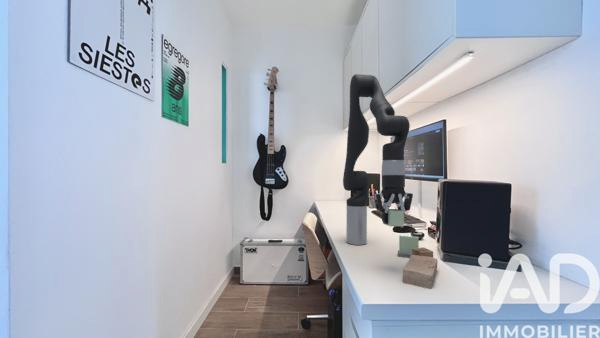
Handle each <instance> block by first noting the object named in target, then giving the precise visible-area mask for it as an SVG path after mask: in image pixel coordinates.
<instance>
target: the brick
mask: <svg viewBox="0 0 600 338" xmlns="http://www.w3.org/2000/svg"><path fill="white" fill-rule="evenodd" d="M437 269H438V258H436V257H434V256H433V257H427V256H419V255H411V256H410V258H408V261H407V262H406V263H405V264H404V266H403V268H402V282H403V283H404V284H407V285H412V286H417V287H421V288H424V289H429V290H430V289H432V288H433V283H434V281H435V277H436V273H437Z"/></svg>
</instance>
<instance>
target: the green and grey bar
mask: <svg viewBox="0 0 600 338" xmlns="http://www.w3.org/2000/svg"><path fill="white" fill-rule="evenodd" d="M419 239H420V237H419V236H409V235H400V234H399V236H398V241H399V242H398V245H399V249H398V251H397V257H399V258H408V259H410V256H411V255H412V248H420V247H419V245H420V244H419Z"/></svg>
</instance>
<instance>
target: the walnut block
mask: <svg viewBox="0 0 600 338" xmlns="http://www.w3.org/2000/svg"><path fill="white" fill-rule="evenodd" d="M412 255H419V256H427V257H433V258H434V251H433V250H431V249H429V248H426V247H419V248H412Z"/></svg>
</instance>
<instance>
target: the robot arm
mask: <svg viewBox="0 0 600 338" xmlns="http://www.w3.org/2000/svg"><path fill="white" fill-rule="evenodd" d="M360 98H371V100H370V102H369V109H370V112H371V115H372V116H373V117H374V119H375V121H376V122H375V123H376V130H377V132H378V134H380V135H381V136H384V137H394V140H393V141H392V142H387V143H384V144H383V145H382V149H381V151H382V163H381V191H380V192H378V193H373V195H372V196H373V199H374V203H375V204H374V205H375V208H376V211H378V212H381V221H382V224H383V223H384V224H383V225H385V224H388V210H389V209H390V207H392V205H394V204H395V206H396V209H398V210H402V211H404V221H405V213H406V212H407V211H410V210H411V207H412V206H411V205H412V202H413V197H414V195H413V193H410V192H406V191H405V187H406V165H405V146H406V143H407V139H408V134H409V132H410V129H411V128H410V127H411V125H410V124H411V123H410V120H409V119H408V117H406V115H405V116H404V115H395V114H396V112H395V109H394V107H393V105H391V103H390V102H389V101H388V99H387V98H386V96H385V95H384V91H383V89H382V87H381V84H380V82H379V80H378V78H377V77H376V76H375V75H373V74H372V75H371V74H360V73H359V74H358V73H356V74H354V75H352V76H351V80H350V84H349V117H348V128H347V139H346V142H347V143H346V156H345V164H344V170H343V177H342V186H343V189H344V190H345V191H346V192H347V191H349V192H350V191H351V192H357V193H356V194H355V195H353V196H351V197H349V198H346V233H345V234H346V235H345V236H346V243H347V244H349V245H354V246H355V245H356V246H362V245H366V244H368V241H367V237H368V236H367V234H368V226H367V225H368V210H367V208H368V198H369V175H368V173H367V171H365V170H354V169H355V166H356V163H357V161H358V159H359V158H360V156H361V155H362V153H363V152H364V151H365V149H366V147H367V146H368V143H369V136H370V127H369V123H368V122H367V119H366V117H365V116H364V114H363V111H362V109H361V104H360ZM382 199H383V200H382ZM403 199H404V200H403Z"/></svg>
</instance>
